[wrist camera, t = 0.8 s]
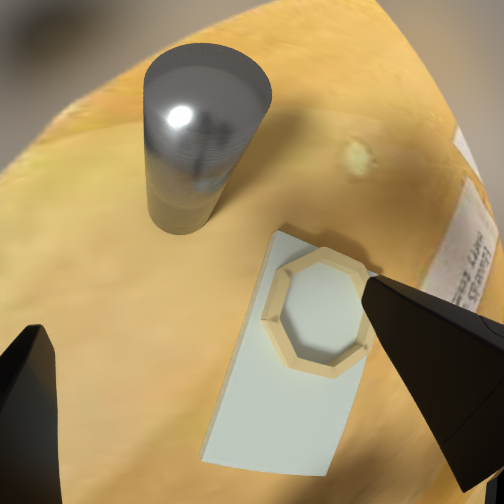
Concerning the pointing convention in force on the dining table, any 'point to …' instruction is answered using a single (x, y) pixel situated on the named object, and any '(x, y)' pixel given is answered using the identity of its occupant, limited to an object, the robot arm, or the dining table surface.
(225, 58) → the grey metal peg
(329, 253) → the collar board
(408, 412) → the dining table surface
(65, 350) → the dining table surface
